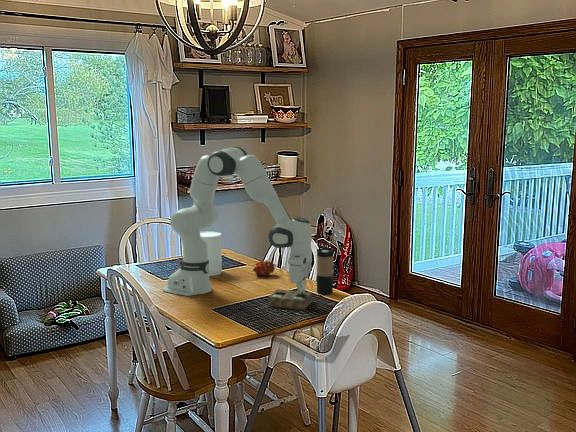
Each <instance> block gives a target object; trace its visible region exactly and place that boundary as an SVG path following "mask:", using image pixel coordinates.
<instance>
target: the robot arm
mask: <svg viewBox="0 0 576 432" xmlns="http://www.w3.org/2000/svg"><path fill="white" fill-rule="evenodd" d="M234 174H235V175H236V176H238V177H239V178H240V180H241V184H242V185H243V187H244V189H245V191H246V193H247V195H248V196H249V197H250V199H251V200H253V201H255V202H258V203H260V204H263V205H264V206H266V207H267V208H268V211H269V212H270V214H271V216H272V217H273V219H274V221H275V222H276V226H273V227H272V228H271V229H270V230H269V232H268V241H269V243H270V244H271V246H272V247H274V248H277V249H285V248H290V255H289V258H288V259H287V263H288V265H289V267H288V268H289V269H288V270H289V271H288V274H289V281H290V283H292V284H296V290H297V289H298V290H301V289H302V285H301V282H302V279H304V278H305V282H306V279H307V276H308V275H309V274H310V273H311V272H312V257H313V256H312V255H313V253H312V250H313V249H312V245H311V244H312V240H313V239H312V237H313V236H312V235H313V234H312V233H313V232H312V231H313V230H312V225H311V222H310V221H309V220H308V219H307V218H304V217H293V218H292V217H290V215H289V213H288V211H287V209H286V207H285V206H284V204H283V202H282V201H281V198H280V197H279V195H278V194H277V192H276V190H275V188H274V186H273V183H272V182H271V179H270V178H269V175H268V173H267V171H266V169H265V167H264V166H263V164H262V162H261V161H260V160H259V158H258V157H257V156H256V155H254V154H248V153H247V151H246V150H245V149H244V148H242V147H239V146H233V147H226V148H222V149H220V150H217V151H214V152H212V154H210V155H209V154H208V155H207V154H206V155H203V156H201V157H200V159H199V160H198V163H197V165H196V167H195V169H194V172H193V176H192V179H191V180H192V181H191V184H190V187H189V192H188V194H189V195H190V197H191V199H193V203H192V205H191V206H190V207H189V206H188V207H184V208H181V209H178V210H177V211H174V212H173V213H172V214H171V217H170V227H171V229H172V230H173V231H174V232H175V233H176V234H177V235H178V236H179V239H180V240H181V244H182V256H183V258H182V260H181V261H179V262H178V266H180V267H179V268H178V269H177V270H175V271H174V272H173V273H171V275H170V276H169V277H168V280H167V284H166V285H164V286H163V288H162V292H165V293H170V294H176V295H180V296H186V297H191V296H196V295H204V294H207V293H210V292H212V291H213V287H212V284H211V280H210V276H209V260H208V245H207V242H206V241H205V240H203V239H202V238H201V235H200V232H201V230H205V229H208V228H211V227H212V226H214V225H216V223H218V220H219V213H218V210H217V208H215V203H214V199H215V194H216V189H217V186H218V184H219V183H218V182H219V179H220V177H226V176H231V175H234Z"/></svg>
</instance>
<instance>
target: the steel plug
mask: <svg viewBox="0 0 576 432" xmlns="http://www.w3.org/2000/svg"><path fill="white" fill-rule="evenodd" d="M301 285H302V289H301V290H298V289H297V288H296V291H297V297H303V298H305V292H306V281H305V278H304V279H302V282H301Z"/></svg>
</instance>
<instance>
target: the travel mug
mask: <svg viewBox="0 0 576 432" xmlns="http://www.w3.org/2000/svg"><path fill="white" fill-rule="evenodd" d="M334 254H335V253H334V249H332V248H328V247H321V248H317V250H316V293H317V294H318V295H321V296H329V295H332V294H333V290H334V287H333V286H334V258H335V257H334Z"/></svg>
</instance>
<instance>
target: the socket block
mask: <svg viewBox="0 0 576 432" xmlns="http://www.w3.org/2000/svg"><path fill="white" fill-rule="evenodd" d="M267 298H268V299H267V300H268V301H267V303H268V304H267V305H268V306H267V307H271V308H280V309H281V308H282V309H289V310H290V309H291V310H303V311H305V310H307V308H308V307H309V306H310V304H311V303H312V302H313V292H312V291H311V292H310V291H305V298H303V297H297V290H288V289H278V288H276V290H274V292H273V293H271V294H270V295H269V296H268V297H267Z"/></svg>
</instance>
